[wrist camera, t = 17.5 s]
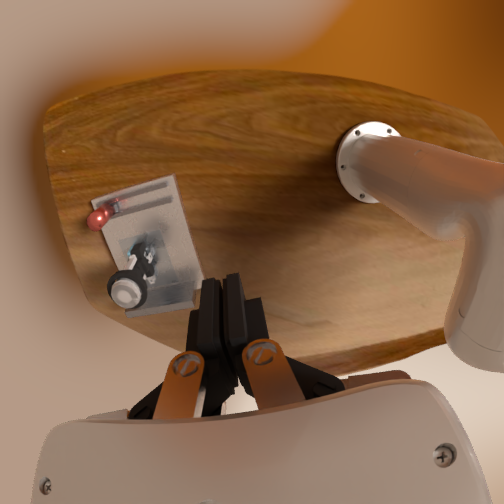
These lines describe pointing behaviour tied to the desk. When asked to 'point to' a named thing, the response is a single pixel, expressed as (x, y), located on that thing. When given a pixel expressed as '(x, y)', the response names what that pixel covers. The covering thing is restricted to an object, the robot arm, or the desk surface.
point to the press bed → (155, 241)
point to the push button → (132, 279)
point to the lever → (101, 216)
